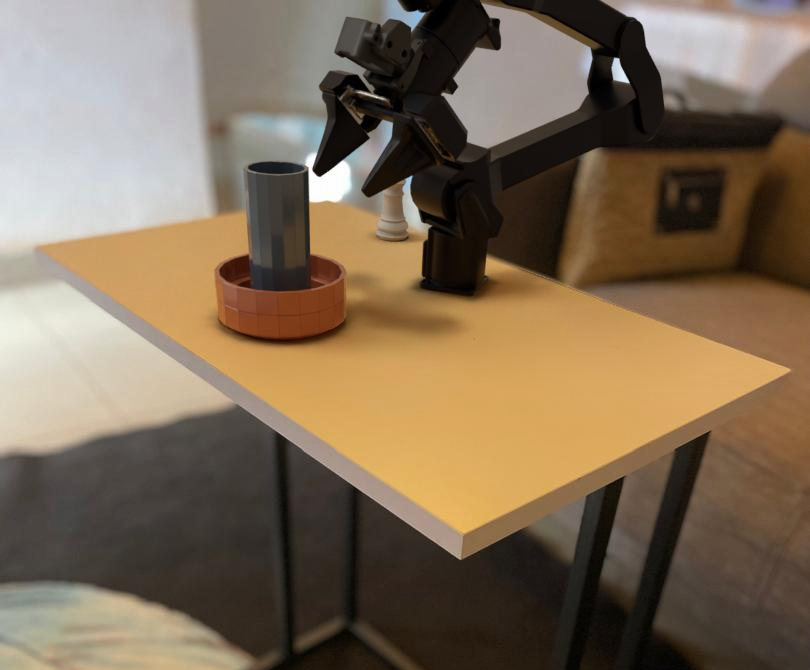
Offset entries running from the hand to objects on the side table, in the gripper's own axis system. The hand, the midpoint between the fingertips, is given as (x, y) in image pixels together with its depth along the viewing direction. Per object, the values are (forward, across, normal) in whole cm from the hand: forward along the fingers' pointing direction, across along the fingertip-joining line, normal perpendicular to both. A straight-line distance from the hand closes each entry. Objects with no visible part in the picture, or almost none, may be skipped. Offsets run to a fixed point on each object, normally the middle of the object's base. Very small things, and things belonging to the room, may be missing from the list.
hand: (339, 183), depth 83 cm
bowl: (+14, 0, +4) cm, 14 cm away
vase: (+13, 0, +4) cm, 14 cm away
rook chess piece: (-5, -19, +23) cm, 31 cm away
